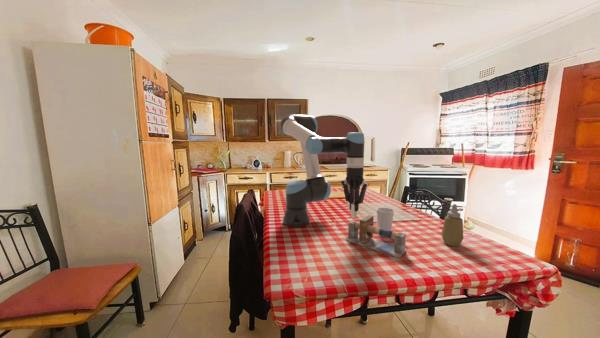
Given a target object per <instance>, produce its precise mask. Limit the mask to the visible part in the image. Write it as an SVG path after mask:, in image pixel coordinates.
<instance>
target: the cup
mask: <svg viewBox="0 0 600 338" xmlns="http://www.w3.org/2000/svg"><path fill="white" fill-rule="evenodd" d="M394 215H395V209H392V208H391V207H385V206H384V207H381V206H379V207H377V208H376V220H377V223H376V224H377V225H376V227H379V228H382V229H386V230H390V231H392V229H393V221H394Z"/></svg>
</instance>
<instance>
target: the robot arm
mask: <svg viewBox="0 0 600 338" xmlns="http://www.w3.org/2000/svg"><path fill="white" fill-rule="evenodd" d="M318 126H319V125H318V121H317V119H316V118H315V116H313V115H310V114H297V113H296V114H293V113H290V114H289V113H288V114H286V115H284V116H283V117H282V118H281V119H280V122H279V128H280V130H281V131H282V133H283V134H285V135H286V136H291V137H292V138H294V139H295V140H297V141H298V142H300V148H301V152H302V158H303V162H304V163H303V164H304V167H305V168H304V169H305V175H306V178H305V179H299V180H298V179H297V180H292V181H289V182H288V183H287V184H286V185H285V211H284V216H283V218H282V223H283V225H285V226H287V227H291V228H301V227H306V226H308V225H310V223H311V219H310V216H309V212H308V209H307V207H308V206H307V205H308V204H309V203H315V202H323V201H326V200H327V199H329V197H330V195H331V191H332V189H331V184H330V182H329V180H326V178H325V176H324V175H322V173H321V168H320V163H319V161H320V160H319V158H318V155H321V154H346V170H345V171H346V172H345V173H346V177H345V179H344V180H341V181H340V183H341V185H342V187H343V188H342V189H343V192H344V193H343V194H344V198H345V201H346V202H348V203H349V211H350V218H352V219H355V218H357V215H358V213H357V212H358V211H359V205H361V204H363V203H364V198H365V195H366V192H367V188H368V187H369V185H370V184H369V182H366V181H365V179H364V162H365V161H364V160H365V158H364V157H365V134H364V132H360V131H359V132H358V131H357V132H347V134H346V136H345V137H344V136H343V137H340V136H338V137H331V136H330V137H328V136H327V137H326V136H325V137H324V136H320V135H318V134H316V133H317V132H318Z"/></svg>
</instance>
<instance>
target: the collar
mask: <svg viewBox="0 0 600 338" xmlns="http://www.w3.org/2000/svg"><path fill="white" fill-rule="evenodd" d="M374 217H375V216H373V215H370V214H368V215H366V216H365V217H363V218H361V219H359V222H360V229H358V235H359V242H361V243H366V242H367V241H368V240H370V239H373V238H374V233H371V232H367V231H366V227H367V226H369V225H371V226H374V220H375V219H374Z"/></svg>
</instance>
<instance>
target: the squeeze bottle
mask: <svg viewBox="0 0 600 338" xmlns="http://www.w3.org/2000/svg"><path fill="white" fill-rule="evenodd" d="M441 237H442V240H443V243H444V244H445V245H446V246H447V245H448V246H449V247H460V245H461V244H462V241H463V240H464V221H463V219H462V217H461V212H459V211H458V206H457V204H455V203H453V204H452V206H451V208H450V211H447V215H446V216H445V217H444V220H443V225H442V229H441Z"/></svg>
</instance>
